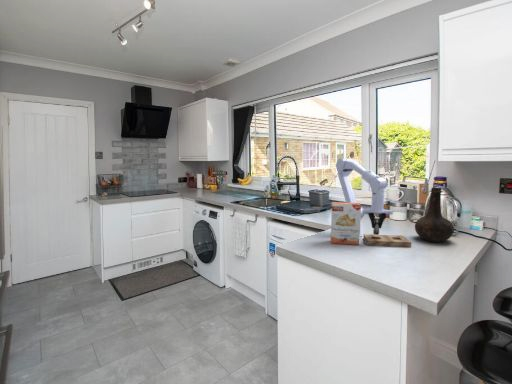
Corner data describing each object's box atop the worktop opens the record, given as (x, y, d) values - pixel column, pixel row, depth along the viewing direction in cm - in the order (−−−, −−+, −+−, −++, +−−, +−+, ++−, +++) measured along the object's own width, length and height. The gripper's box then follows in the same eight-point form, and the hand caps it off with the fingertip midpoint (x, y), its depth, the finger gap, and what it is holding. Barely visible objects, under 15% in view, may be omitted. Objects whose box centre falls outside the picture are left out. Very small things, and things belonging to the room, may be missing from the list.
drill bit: (374, 234, 148) (374, 219, 147) (372, 233, 151) (373, 218, 150) (379, 234, 148) (380, 219, 147) (378, 233, 151) (379, 218, 150)
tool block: (368, 245, 145) (368, 240, 145) (363, 238, 157) (363, 234, 156) (411, 247, 142) (411, 242, 142) (402, 240, 154) (403, 235, 153)
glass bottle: (433, 246, 143) (437, 190, 140) (406, 236, 160) (409, 186, 157) (461, 243, 148) (466, 188, 144) (432, 234, 165) (435, 185, 162)
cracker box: (330, 243, 148) (331, 203, 146) (330, 240, 154) (331, 201, 152) (359, 245, 145) (361, 204, 143) (358, 242, 151) (359, 202, 148)
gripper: (364, 202, 145) (363, 229, 146) (395, 203, 142) (393, 230, 144) (361, 200, 152) (360, 225, 153) (391, 200, 149) (389, 226, 151)
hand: (376, 227), depth 149 cm, fingers closed on drill bit, 3 cm apart
